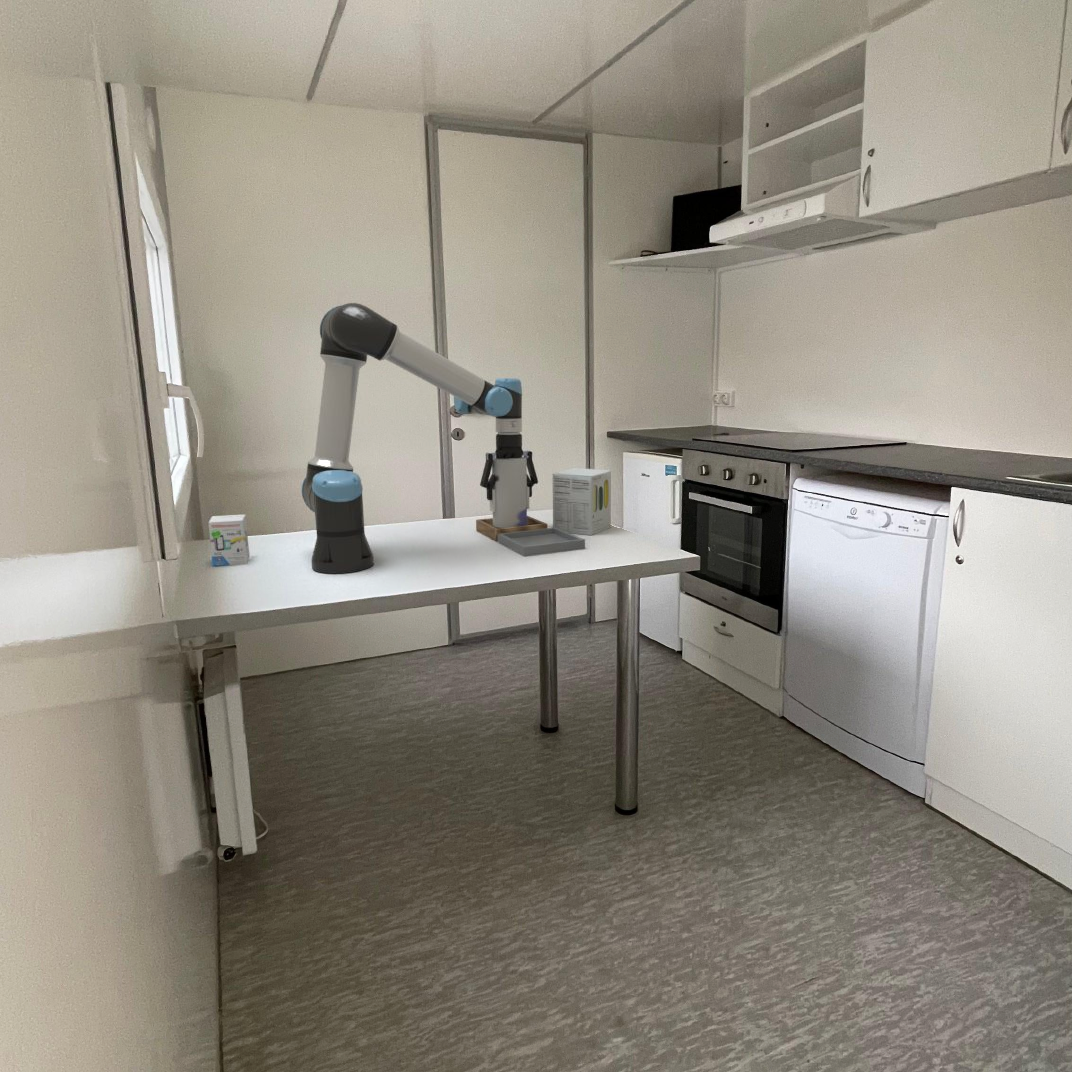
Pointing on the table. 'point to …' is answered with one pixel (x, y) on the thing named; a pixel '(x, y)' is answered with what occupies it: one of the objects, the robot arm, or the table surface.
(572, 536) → the tray
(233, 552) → the ink box
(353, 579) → the table surface
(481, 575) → the table surface
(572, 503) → the supplement box
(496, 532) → the frame
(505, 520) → the container
